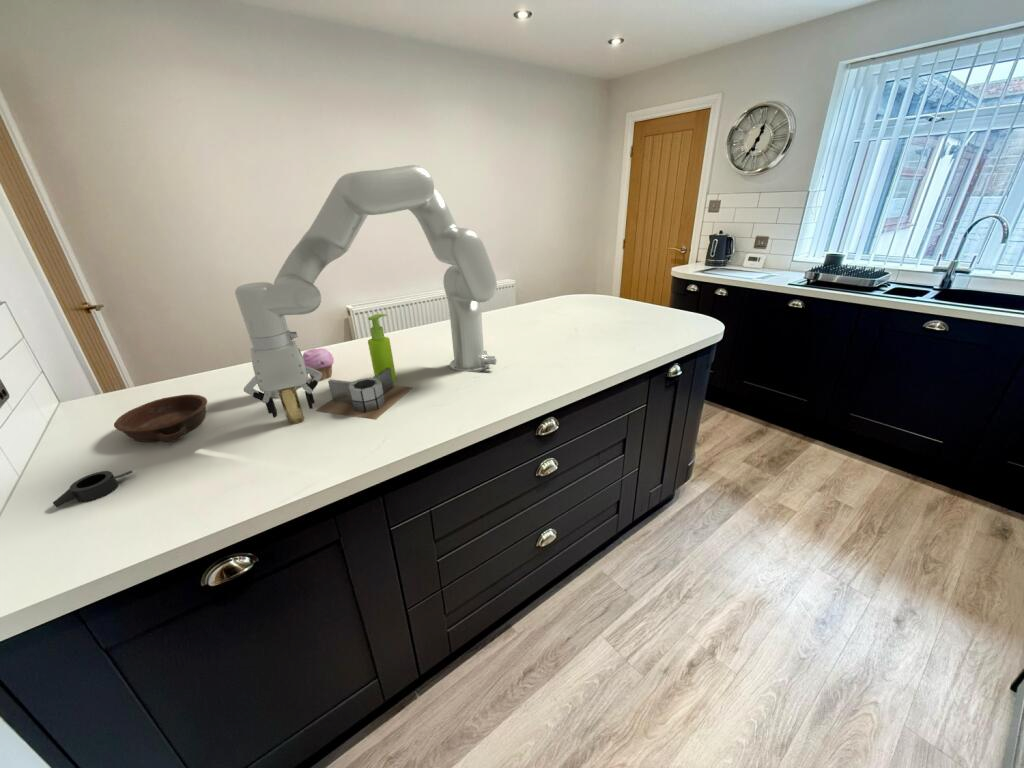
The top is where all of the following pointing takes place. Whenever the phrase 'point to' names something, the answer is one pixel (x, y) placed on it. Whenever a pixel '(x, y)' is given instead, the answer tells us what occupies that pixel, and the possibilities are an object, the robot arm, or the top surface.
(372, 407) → the hinge
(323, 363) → the cupcake
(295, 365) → the robot arm
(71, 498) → the black ring with arms
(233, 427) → the top surface
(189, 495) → the top surface
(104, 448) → the top surface
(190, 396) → the dish
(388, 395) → the hinge base
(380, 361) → the soap dispenser
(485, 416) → the top surface
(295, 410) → the hinge pin
